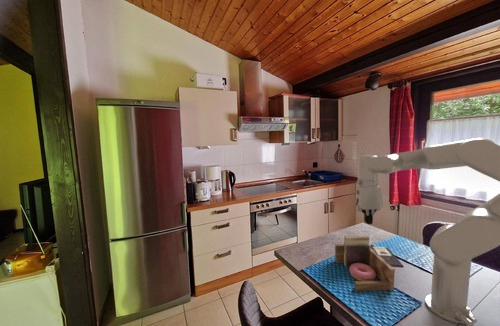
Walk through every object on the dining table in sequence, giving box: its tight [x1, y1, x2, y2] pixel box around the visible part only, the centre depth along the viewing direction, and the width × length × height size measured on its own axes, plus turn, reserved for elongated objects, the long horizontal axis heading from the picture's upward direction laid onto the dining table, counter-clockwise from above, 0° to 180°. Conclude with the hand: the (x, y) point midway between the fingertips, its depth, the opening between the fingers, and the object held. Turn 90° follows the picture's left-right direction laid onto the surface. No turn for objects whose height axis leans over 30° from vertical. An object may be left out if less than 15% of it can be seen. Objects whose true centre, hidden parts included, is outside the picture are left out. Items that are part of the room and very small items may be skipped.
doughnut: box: [348, 263, 377, 281], centre depth 98 cm, size 11×11×4 cm
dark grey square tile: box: [345, 244, 370, 269], centre depth 104 cm, size 1×11×11 cm, turn 90°
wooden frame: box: [334, 234, 396, 292], centre depth 99 cm, size 22×16×15 cm
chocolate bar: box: [369, 245, 404, 268], centre depth 113 cm, size 9×1×18 cm
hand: (368, 223), depth 96 cm, fingers closed
